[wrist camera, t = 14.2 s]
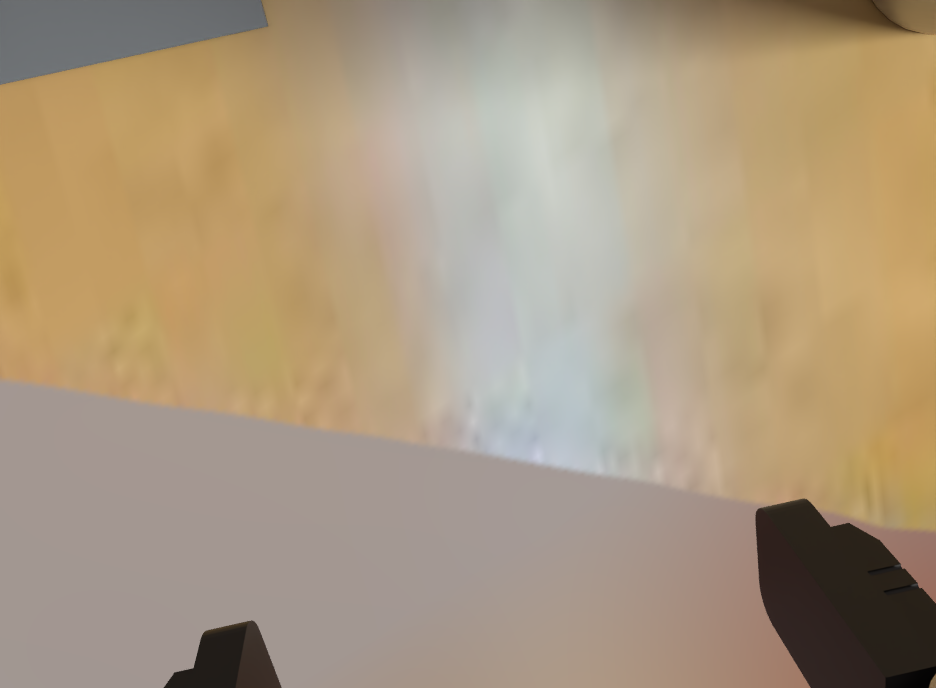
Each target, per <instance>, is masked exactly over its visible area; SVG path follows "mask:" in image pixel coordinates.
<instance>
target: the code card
mask: <svg viewBox="0 0 936 688" xmlns="http://www.w3.org/2000/svg"><path fill="white" fill-rule="evenodd" d="M267 26H268V24H267V20H266V16H265V13H264V9H263V6H262V2H261V0H0V85H1V84H5V83H10V82H14V81H19V80H24V79H28V78H33V77H37V76H42V75H47V74H51V73H56V72H60V71H65V70H70V69H74V68H79V67H83V66H88V65H93V64H97V63H102V62H106V61H111V60H116V59H120V58H125V57H129V56H134V55H138V54H143V53H148V52H152V51H157V50H161V49H166V48H171V47H175V46H180V45H184V44H189V43H194V42H198V41H203V40H207V39H212V38H217V37H221V36H226V35H230V34H235V33H239V32H244V31H249V30H253V29H258V28H262V27H267Z"/></svg>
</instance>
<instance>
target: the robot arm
mask: <svg viewBox="0 0 936 688" xmlns="http://www.w3.org/2000/svg"><path fill="white" fill-rule="evenodd" d="M873 2H874V4H875V5H876V7H877V8H878V9H879V10H880V11H881V12H882V13H883V14H884V15H885V16H886V17H887V18H888V19H889V20H891V21H892V22H894V23H896V24H898V25H900V26H901V27H903V28H905V29H908V30H912V31H916V32H920V33H924V34H931V35H936V0H873ZM756 536H757V553H758V569H759V583H760V591H761V595H762V599H763V603H764V606H765V609H766V612H767V614H768V616H769V619H770V621H771V623H772V625H773V626H774V628H775V629H776V631H777V633H778V635H779V636H780V638H781V640H782V641H783V643H784V645H785V646H786V648H787V649H788V651H789V653H790V654H791V656H792V658H793V659H794V661H795V663H796V664H797V666H798V668H799V669H800V671H801V672H802V674H803V676H804V677H805V679H806V681H807V682H808V684H809V686H810V687H811V688H936V603H935V602H934V601H933V600H932V599H931V598H930V597H929V595H928V594H927V593H926V592H925V591H924V590H923V589H922V588H919V587H918V583H917V582H916V581H915V580H914V579H913V577H912V576H911V575H910V574H909V573H908V572H907V571H906V569H902V567H901V564H900V563H899V562H898V560H897V559H896V558H895V557H894V556H893V555H892V554H891V553H890V551H889V550H888V549H887V548H886V547H885V546H884V545H883V543H882V542H881V541H880V540H878V539H876V538H875V537H873V536H871V535H869V534H867V533H866V532H864V531H862V530H860V529H859V528H857V527H855V526H853V525H851V524H850V523H846V524H842V525H837V526H833V527H830V525H829V524H828V523H827V522H826V521H825V520H824V518H823V517H822V516H821V514H820V513H819V512H818V511H817V510H816V508H815V507H814V506H813V505H812V504H811V503H810V502H809V501H808V500H807V499H799V500H795V501H790V502H786V503H781V504H777V505H772V506H768V507H763V508H759V509H758V510H757V511H756ZM164 688H281V685H280V682H279V680H278V677H277V675H276V672H275V669H274V667H273V664H272V661H271V659H270V656H269V654H268V651H267V648H266V646H265V643H264V641H263V638H262V635H261V633H260V630H259V628H258V626H257V624H256V623H255V622H254V621H247V622H243V623H238V624H234V625H229V626H225V627H221V628H216V629H211V630H208V631H205V632H204V633H203V635H202V637H201V641H200V645H199V649H198V653H197V657H196V661H195V665H194V668H193V669H189V670H184V671H180V672H175V673H174V674H173V676H172V677H171V679H170V680H169V681H168V683H167V684H166V686H165V687H164Z"/></svg>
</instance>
